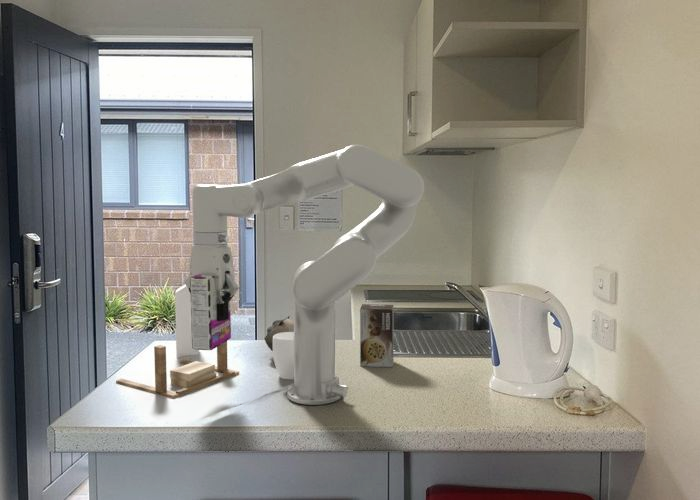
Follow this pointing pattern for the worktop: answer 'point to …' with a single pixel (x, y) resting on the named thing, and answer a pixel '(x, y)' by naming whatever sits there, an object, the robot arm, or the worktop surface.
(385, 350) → the cookie box
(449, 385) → the worktop surface
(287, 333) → the mug
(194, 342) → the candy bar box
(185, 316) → the milk
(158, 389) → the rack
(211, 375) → the offcut middle
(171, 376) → the offcut top
